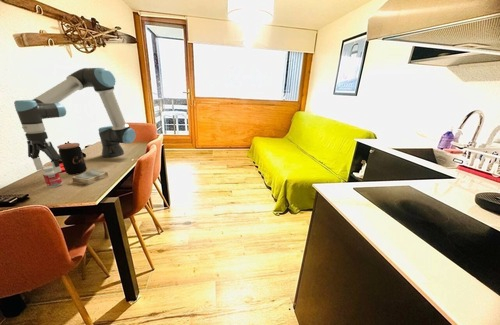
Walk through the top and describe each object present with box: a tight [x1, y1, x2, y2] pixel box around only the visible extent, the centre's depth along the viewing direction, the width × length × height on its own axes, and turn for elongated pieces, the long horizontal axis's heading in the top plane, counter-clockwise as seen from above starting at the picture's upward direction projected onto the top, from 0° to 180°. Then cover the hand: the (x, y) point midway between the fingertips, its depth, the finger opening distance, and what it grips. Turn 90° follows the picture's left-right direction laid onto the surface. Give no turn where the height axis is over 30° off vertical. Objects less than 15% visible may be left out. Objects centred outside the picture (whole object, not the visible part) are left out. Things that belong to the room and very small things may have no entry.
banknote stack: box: [71, 169, 109, 186], centre depth 119 cm, size 12×12×3 cm
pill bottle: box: [42, 165, 63, 189], centre depth 110 cm, size 6×6×11 cm
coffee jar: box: [57, 142, 88, 176], centre depth 127 cm, size 11×11×18 cm
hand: (49, 170), depth 108 cm, fingers open, 13 cm apart
